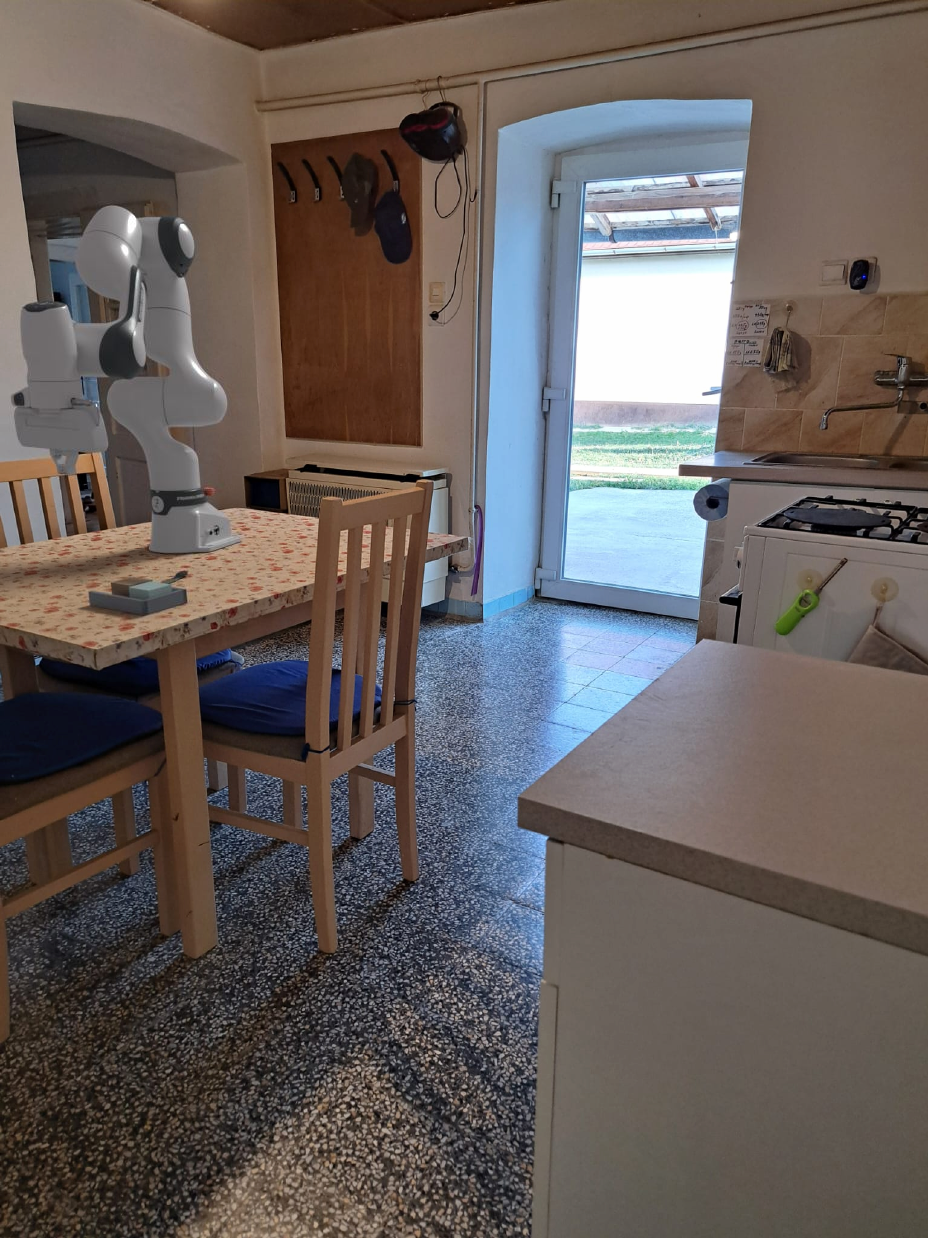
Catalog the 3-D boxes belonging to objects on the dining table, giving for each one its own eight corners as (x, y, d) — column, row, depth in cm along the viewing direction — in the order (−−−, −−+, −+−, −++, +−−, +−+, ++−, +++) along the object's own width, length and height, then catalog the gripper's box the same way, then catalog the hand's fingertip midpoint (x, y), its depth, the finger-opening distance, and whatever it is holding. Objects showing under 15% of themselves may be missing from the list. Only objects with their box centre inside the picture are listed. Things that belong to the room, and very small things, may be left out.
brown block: (135, 597, 156) (133, 576, 155) (154, 601, 154) (152, 579, 152) (113, 604, 152) (110, 582, 150) (132, 607, 149) (130, 585, 148)
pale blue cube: (153, 602, 153) (151, 581, 152) (173, 606, 151) (171, 584, 150) (131, 609, 149) (128, 587, 148) (151, 612, 147) (148, 590, 146)
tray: (133, 593, 159) (132, 580, 158) (187, 602, 153) (186, 589, 152) (89, 605, 151) (88, 591, 150) (144, 615, 145) (143, 601, 144)
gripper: (111, 398, 150) (120, 476, 154) (34, 394, 159) (45, 468, 163) (82, 400, 145) (92, 481, 149) (3, 395, 153) (15, 472, 158)
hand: (67, 474), depth 156 cm, fingers closed
